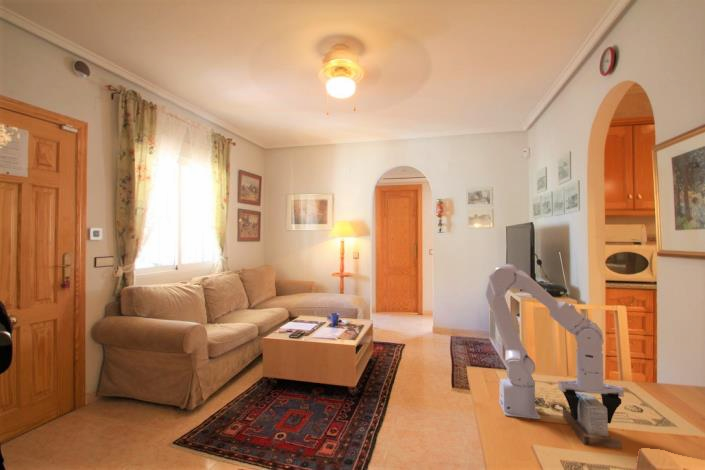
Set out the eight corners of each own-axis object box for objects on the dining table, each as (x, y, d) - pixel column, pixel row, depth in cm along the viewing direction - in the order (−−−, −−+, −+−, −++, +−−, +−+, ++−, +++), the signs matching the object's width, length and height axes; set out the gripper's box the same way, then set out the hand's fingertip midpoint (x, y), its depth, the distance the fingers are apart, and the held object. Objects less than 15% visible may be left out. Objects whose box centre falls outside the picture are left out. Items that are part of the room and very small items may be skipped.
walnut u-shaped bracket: (584, 444, 79) (584, 436, 79) (562, 416, 91) (562, 409, 91) (622, 449, 77) (621, 441, 77) (595, 420, 89) (595, 413, 89)
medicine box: (608, 442, 80) (608, 408, 80) (589, 440, 81) (588, 406, 81) (591, 424, 87) (591, 393, 87) (573, 422, 88) (573, 391, 88)
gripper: (612, 365, 86) (613, 414, 86) (553, 361, 90) (554, 408, 89) (628, 376, 79) (629, 429, 79) (564, 371, 83) (565, 422, 83)
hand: (590, 419), depth 84 cm, fingers open, 7 cm apart
